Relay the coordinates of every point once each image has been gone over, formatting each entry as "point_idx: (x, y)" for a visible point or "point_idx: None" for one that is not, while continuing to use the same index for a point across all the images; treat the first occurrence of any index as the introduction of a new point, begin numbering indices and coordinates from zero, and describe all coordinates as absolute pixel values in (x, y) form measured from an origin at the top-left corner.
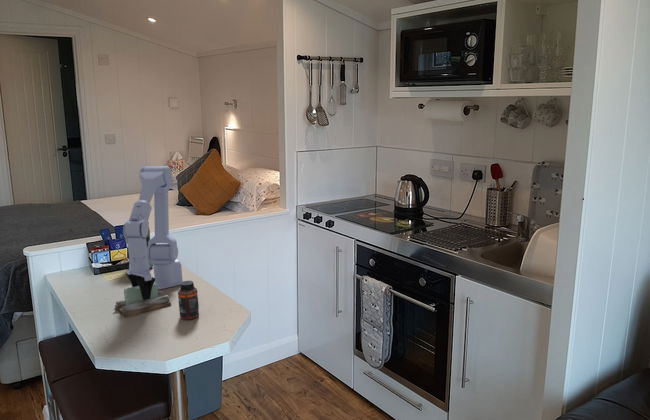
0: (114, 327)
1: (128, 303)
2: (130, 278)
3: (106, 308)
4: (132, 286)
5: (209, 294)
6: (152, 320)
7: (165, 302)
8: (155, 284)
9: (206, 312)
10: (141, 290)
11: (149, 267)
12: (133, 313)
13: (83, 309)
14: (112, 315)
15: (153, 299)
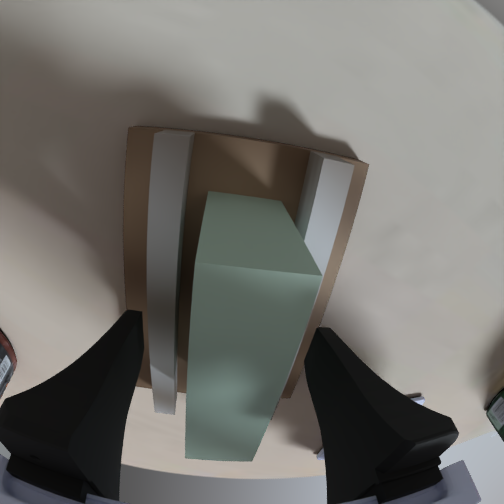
0: (53, 23)
1: (205, 208)
2: (380, 423)
3: (400, 124)
4: (353, 362)
5: (155, 459)
6: (5, 227)
7: (149, 374)
8: (190, 454)
9: (8, 384)
10: (79, 361)
11: (490, 409)
12: (127, 185)
13: (475, 53)
14: (250, 76)
15: (154, 356)
